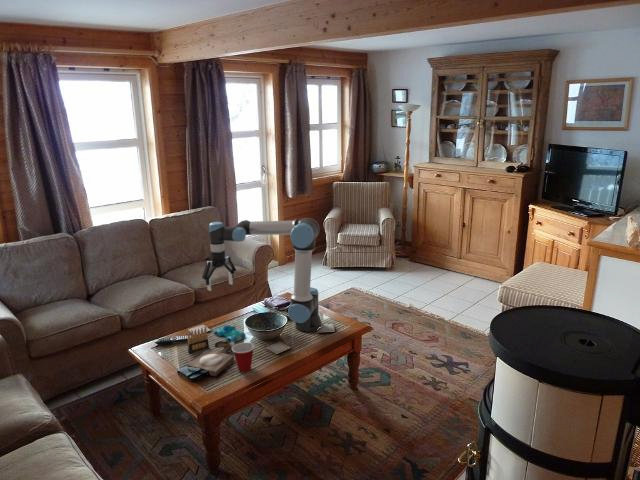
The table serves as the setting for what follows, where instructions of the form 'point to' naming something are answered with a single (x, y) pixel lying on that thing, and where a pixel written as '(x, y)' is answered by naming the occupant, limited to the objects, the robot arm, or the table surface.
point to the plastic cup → (243, 356)
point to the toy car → (230, 333)
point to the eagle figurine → (224, 344)
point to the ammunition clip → (197, 341)
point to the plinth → (212, 361)
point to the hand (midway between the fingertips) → (220, 287)
